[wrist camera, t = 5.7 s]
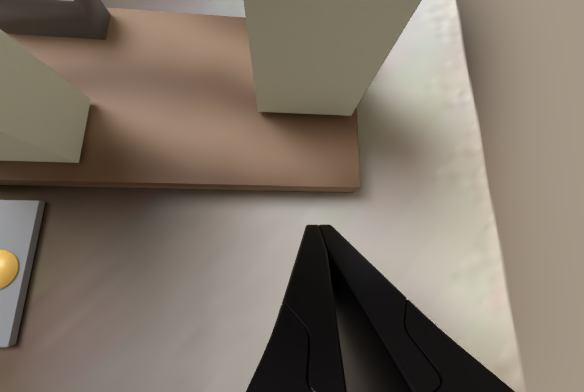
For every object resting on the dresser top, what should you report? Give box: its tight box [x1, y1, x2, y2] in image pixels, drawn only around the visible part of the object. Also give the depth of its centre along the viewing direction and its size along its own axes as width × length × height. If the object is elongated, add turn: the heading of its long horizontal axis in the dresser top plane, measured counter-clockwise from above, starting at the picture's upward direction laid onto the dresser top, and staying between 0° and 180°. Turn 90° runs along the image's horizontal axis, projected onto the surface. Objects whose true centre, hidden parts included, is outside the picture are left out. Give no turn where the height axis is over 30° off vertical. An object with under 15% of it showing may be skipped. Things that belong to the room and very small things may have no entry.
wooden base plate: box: [0, 0, 360, 192], centre depth 14 cm, size 12×23×4 cm, turn 90°
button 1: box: [244, 0, 421, 116], centre depth 10 cm, size 4×6×11 cm, turn 90°
